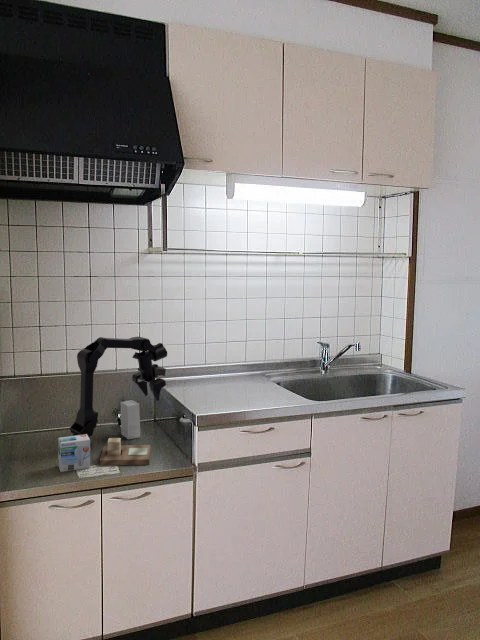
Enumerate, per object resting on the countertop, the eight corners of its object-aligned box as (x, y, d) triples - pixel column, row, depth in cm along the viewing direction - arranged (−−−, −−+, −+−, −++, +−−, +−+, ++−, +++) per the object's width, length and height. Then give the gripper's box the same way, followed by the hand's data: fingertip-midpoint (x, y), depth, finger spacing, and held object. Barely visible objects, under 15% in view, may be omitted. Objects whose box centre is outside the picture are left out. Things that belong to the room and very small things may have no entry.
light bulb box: (60, 472, 185) (60, 443, 184) (57, 465, 191) (57, 437, 190) (91, 468, 190) (91, 439, 189) (87, 461, 196) (87, 433, 195)
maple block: (107, 460, 198) (107, 442, 197) (108, 455, 202) (108, 438, 201) (119, 459, 198) (119, 442, 198) (120, 455, 203) (120, 437, 202)
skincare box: (140, 437, 223) (140, 403, 221) (127, 440, 219) (127, 405, 218) (132, 431, 230) (133, 399, 228) (119, 434, 226) (120, 400, 225)
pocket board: (99, 465, 192) (99, 459, 192) (104, 450, 207) (104, 444, 207) (149, 464, 195) (149, 458, 195) (150, 449, 210) (150, 444, 209)
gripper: (173, 363, 223) (179, 396, 227) (149, 355, 236) (155, 386, 241) (151, 371, 216) (157, 406, 220) (128, 363, 230) (135, 395, 234)
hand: (152, 398), depth 229 cm, fingers open, 9 cm apart
